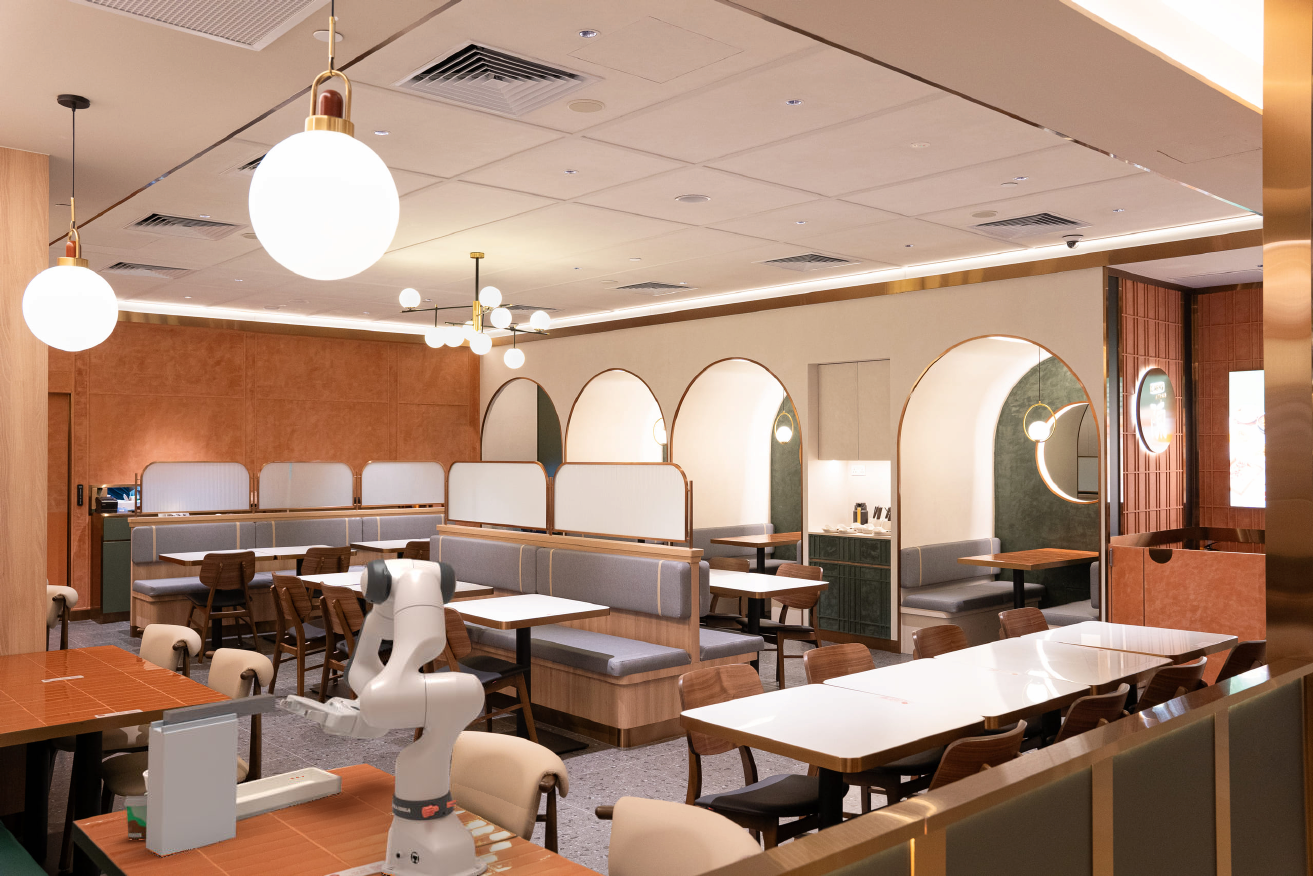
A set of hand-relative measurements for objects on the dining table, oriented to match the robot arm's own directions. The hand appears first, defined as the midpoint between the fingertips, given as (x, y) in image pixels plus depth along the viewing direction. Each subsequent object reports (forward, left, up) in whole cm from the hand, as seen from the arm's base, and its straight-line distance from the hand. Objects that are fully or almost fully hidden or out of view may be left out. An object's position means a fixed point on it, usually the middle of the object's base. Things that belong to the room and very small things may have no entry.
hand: (294, 708), depth 231 cm
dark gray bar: (+2, +17, 0) cm, 17 cm away
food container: (+13, +26, -26) cm, 39 cm away
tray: (+15, -2, -26) cm, 30 cm away
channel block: (+2, +23, -26) cm, 34 cm away
